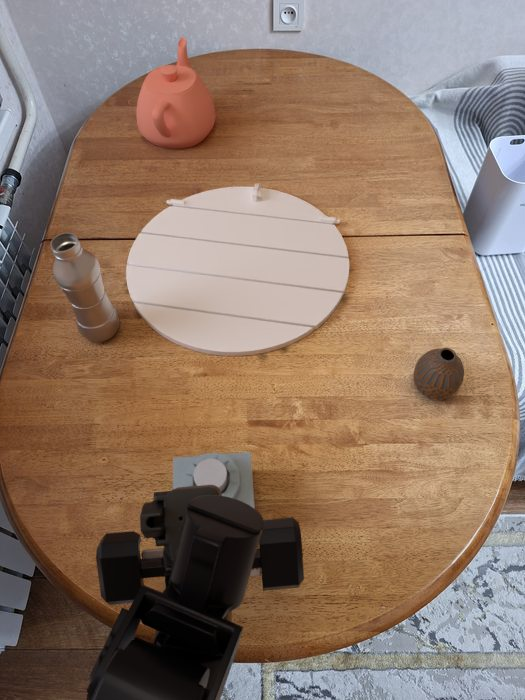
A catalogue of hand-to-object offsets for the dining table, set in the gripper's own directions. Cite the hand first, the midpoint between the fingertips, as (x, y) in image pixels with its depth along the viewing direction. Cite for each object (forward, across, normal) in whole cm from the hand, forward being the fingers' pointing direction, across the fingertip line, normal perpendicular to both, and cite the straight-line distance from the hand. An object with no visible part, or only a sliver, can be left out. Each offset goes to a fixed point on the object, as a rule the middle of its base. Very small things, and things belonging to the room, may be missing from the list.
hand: (206, 518), depth 60 cm
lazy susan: (+44, -6, -26) cm, 51 cm away
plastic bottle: (+35, +18, -17) cm, 42 cm away
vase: (+24, -33, -6) cm, 42 cm away
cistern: (+12, 0, +6) cm, 14 cm away
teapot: (+74, +5, -56) cm, 92 cm away
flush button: (+8, 0, -1) cm, 8 cm away
